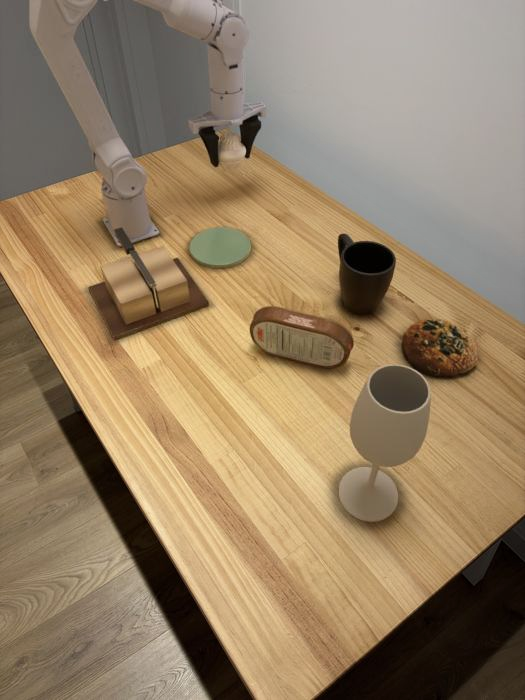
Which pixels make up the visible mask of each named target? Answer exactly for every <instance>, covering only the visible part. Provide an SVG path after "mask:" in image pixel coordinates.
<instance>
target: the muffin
mask: <svg viewBox="0 0 525 700" xmlns="http://www.w3.org/2000/svg"><path fill="white" fill-rule="evenodd" d="M245 154H246V148H245V146H244V145H243V144H242V143H241V139H240V137H239V136H238V134H237V133H235V132H228V131H227V132H225V133H222V134H221V135H220V136H219V142H218V159H219V166H220V167H221V169H222V171H224V172H225V173H226V172H227V173H235V172H237V171H238V170H239V169H240V167H241V166H242V164H243V162H244V160H245V159H246V158H245Z"/></svg>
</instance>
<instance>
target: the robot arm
mask: <svg viewBox="0 0 525 700" xmlns="http://www.w3.org/2000/svg"><path fill="white" fill-rule="evenodd" d="M102 1H103V2H107V1H108V0H102ZM132 1H133V2H136V3H139V4H141V5H143V6H146V7H147V8H151V9H153V10H155V11H157V12H160V13H161V14H162V17H163V20H164V22H165V24H166V25H167V27H170V28H172V29H175V30H176V31H179V32H181V33H184V34H186V35H188V36H190V37H192V38H195V39H197V40H198V41H202V42H207V43H206V48H207V49H206V52H207V65H208V79H209V95H210V108H211V109H209V110H208V111H205V112H204V113H201V114H199V115H198V116H195V117H193V118H188V119H187V123H188V130H189V131H190V132H191V133H192V135H197V134H198V135H199V137H200V139H201V140H202V142H203V143H202V144H203V145H204V147H205V149H206V152H207V154H208V158H209V162H210V164H211V165H212V166H213V167H214V168H218V167H219V166H220V164H219V159H218V142H219V141H220V136H219V135H218V134H217V133H216V129H214V128H217V127H222V126H230V125H231V126H232V127H236V126H238V127H239V134H240V142H241V143H242V144H243V145H244V146H245V148H246V154H245V158H244V159H250V157H251V153H252V148H253V146H254V141H255V139H256V137H257V135H258V133H259V131H260V130H261V129H262V120H260V119H259V117H260V118H264V117H266V116H267V105H265V104H264V103H263V102H262V101H259V102H250V103H244V102H245V101H244V70H243V69H244V65H243V63H244V62H243V59H244V50H245V47H246V46H247V43H248V41H249V37H250V29H248V28H247V23H246V21H245V20H244V18H243V16H242V15H241V14H240V13H237V12H236V11H234V10H232V9H230V8H228V7H227V6H225V5H223V1H221V0H132ZM97 2H98V0H29V2H28V3H29V5H28V7H29V11H28V13H29V15H28V16H29V19H28V20H29V30H30V33H31V35H32V37H33V39H34V41H35V43H36V44H37V46H38V49H39V50H40V52H41V54H42V56H43V58H44V60H45V62H46V64H47V65H48V68H49V69H50V71H51V73H52V75H53V77H54V78H55V80H56V82H57V84H58V86H59V88H60V90H61V91H62V94H63V95H64V97H65V99H66V101H67V103H68V104H69V108H71V111H72V112H73V114H74V116H75V118H76V120H77V122H78V123H79V126H80V127H81V129H82V131H83V133H84V135H85V137H86V139H87V141H88V143H87V144H88V147H89V148H90V150H91V154H92V155H91V156H92V157H91V160H92V165H93V167H94V169H95V170H96V172H98V174H100V176H101V177H102V180H101V187H100V193H101V196H102V197H101V198H102V201H103V205H104V209H105V213H106V217H103V218H102V222H103V224H104V225H105V227H106V229H107V230H108V233H109V234H110V235H111V237H112V238H113V240H114V242H115V244H116V246H117V247H122V245H121V244H120V242H119V240H118V239H117V237H116V235H115V232H114V229H118V228H121V227H122V228H123V230H124V231H125V233H126V235H127V236H128V238H129V239H130V241H131V243H132V244H134V243H137V242H140V241H143V240H146V239H150V238H153V237H155V236H159V235H160V231H159V230H158V228H157V226H156V225H155V224H154V222H153V221H152V219H151V216H150V211H149V206H148V201H147V194H146V189H145V187H146V185H147V182H148V176H147V172H146V170H145V168H144V167H143V166H142V165H140V164H139V163H138V162H137V161H136V160H135V158H134V157H133V156H132V154H131V152H130V150H129V149H128V147H127V146H126V144H125V142H124V141H123V139H122V138H121V136H120V134H119V132H118V130H117V128H116V126H115V123H114V122H113V119H112V117H111V116H110V113H109V111H108V109H107V106H106V104H105V103H104V100H103V99H102V96H101V94H100V92H99V90H98V88H97V86H96V84H95V82H94V79H93V78H92V75H91V73H90V71H89V69H88V67H87V65H86V63H85V61H84V58H83V56H82V54H81V52H80V50H79V48H78V45H77V44H76V42H75V39H74V38H75V34H76V33H77V29H78V27H79V25H80V23H81V22H82V21H83V19H84V18H85V17H86V16H87V15H88V13H89V12H90V11H91V10H92V9H93V7H94V6H95V5H96V4H97Z"/></svg>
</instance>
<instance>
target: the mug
mask: <svg viewBox="0 0 525 700" xmlns="http://www.w3.org/2000/svg"><path fill="white" fill-rule="evenodd" d="M337 250H338V251H337V252H338V257H339V270H338V280H339V281H338V282H339V289H340V293H341V299H342V302H343V306H344V308H345V309H346V310H347V311H348V312H350V313H352V314H353V315H356V316H357V315H358V316H367V315H370V314H373V313H374V312H376V310H377V309H378V307H379V306H380V304H381V303H382V301H383V299H384V298H385V296H386V294H387V293H388V291H389V289H390V286H391V284H392V280H393V278H394V273H395V270H396V269H395V268H396V264H397V258H396V255H395V253H394V252H393V250H392V249H391V248H389V247H388V246H386V245H385V244H383V243H381V242H377V241H372V240H359V241H355V242H354V240H353V239H352V238H351V237H350V235H348V233H345V232H344V233H341V234H339V235H338V237H337Z"/></svg>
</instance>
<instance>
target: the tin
mask: <svg viewBox="0 0 525 700" xmlns="http://www.w3.org/2000/svg"><path fill="white" fill-rule="evenodd" d="M249 335H250V338H251V341H252V342H253V343H254V344H255V345H256V346H257V348H259V349H260V350H262V351H263V352H266V353H267V354H268V355H269V354H270V355H273V356H276V357H280V358H283V359H286V360H287V359H288V360H290V361H295V362H298V363H301V364H302V363H303V364H306V365H310V366H313V367H317V368H321V369H335V368H339V367H341V366H343V365H344V364H345V363H346V362H347V361H348V359H349V358H350V355H351V353H352V350H353V348H354V344H355V341H354V337H353V335H352V333H351V332H350V331H349V330H348V329H347V327H345V326H344V325H343V324H341V323H340V322H338V321H335V320H333V319H330V318H328V317H327V318H326V317H322V316H319V315H315V314H309V313H305V312H301V311H297V310H293V309H289V308H285V307H281V306H276V305H268V306H263V307H260V308H259V309H257V311H255V312H254V315H253V318H252V320H251V323H250V325H249Z"/></svg>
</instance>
